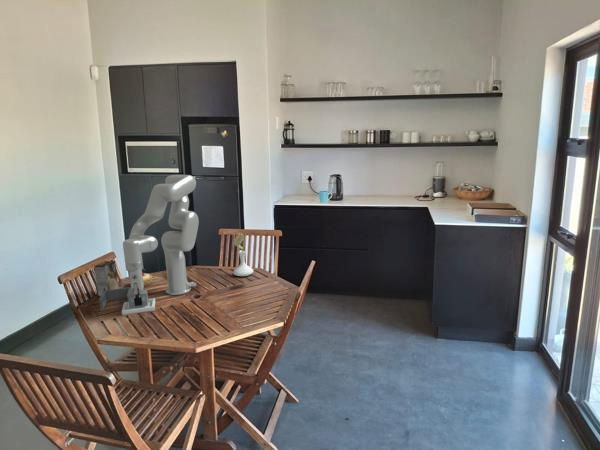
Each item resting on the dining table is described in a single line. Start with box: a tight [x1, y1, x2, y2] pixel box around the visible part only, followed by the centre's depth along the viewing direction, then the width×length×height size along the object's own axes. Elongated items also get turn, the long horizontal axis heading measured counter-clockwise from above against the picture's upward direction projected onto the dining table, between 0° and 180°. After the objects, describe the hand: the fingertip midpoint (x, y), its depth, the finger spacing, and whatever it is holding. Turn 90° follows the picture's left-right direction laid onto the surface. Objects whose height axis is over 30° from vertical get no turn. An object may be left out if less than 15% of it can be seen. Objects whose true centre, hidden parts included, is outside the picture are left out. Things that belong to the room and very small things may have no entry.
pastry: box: [141, 268, 154, 288], centre depth 243 cm, size 12×12×9 cm
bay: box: [98, 286, 132, 310], centre depth 218 cm, size 13×14×5 cm
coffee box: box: [93, 260, 120, 297], centre depth 232 cm, size 9×6×16 cm
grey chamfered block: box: [128, 289, 149, 308], centre depth 209 cm, size 8×5×6 cm, turn 106°
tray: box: [121, 297, 156, 317], centre depth 209 cm, size 14×12×2 cm
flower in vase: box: [232, 232, 254, 277], centre depth 250 cm, size 13×11×25 cm
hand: (138, 302), depth 209 cm, fingers closed on grey chamfered block, 5 cm apart
